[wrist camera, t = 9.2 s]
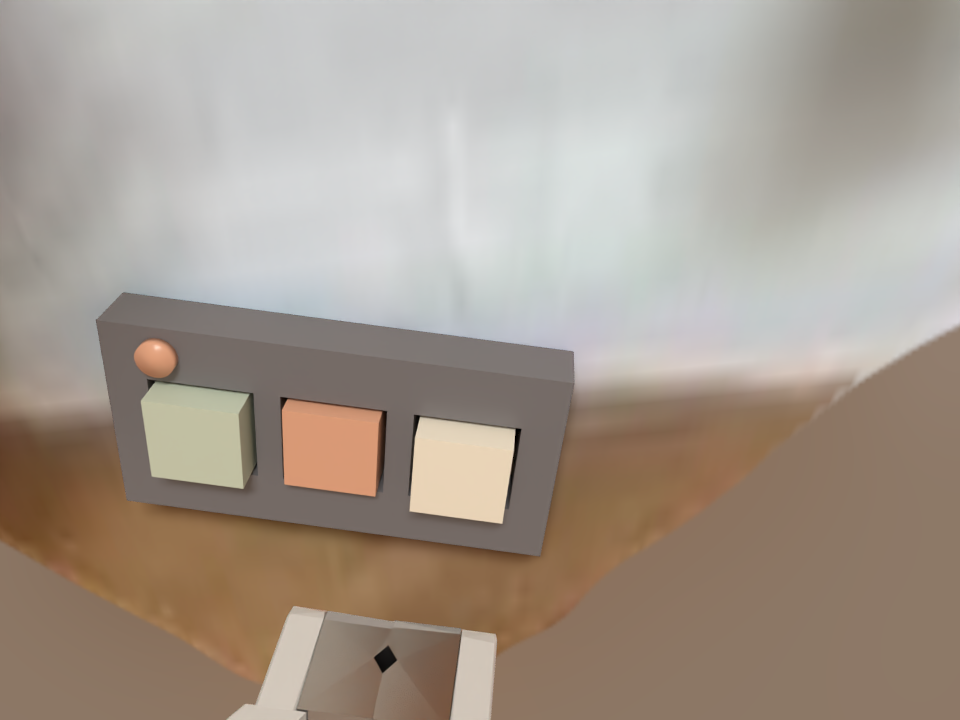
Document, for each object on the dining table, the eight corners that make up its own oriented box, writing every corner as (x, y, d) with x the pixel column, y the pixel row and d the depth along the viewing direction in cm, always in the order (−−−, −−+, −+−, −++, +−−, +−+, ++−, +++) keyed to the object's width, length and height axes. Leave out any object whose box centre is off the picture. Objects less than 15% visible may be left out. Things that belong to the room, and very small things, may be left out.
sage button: (174, 442, 46) (151, 476, 44) (165, 369, 44) (140, 400, 41) (260, 454, 46) (243, 488, 44) (257, 381, 44) (238, 413, 41)
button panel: (149, 467, 50) (122, 507, 47) (123, 292, 43) (90, 326, 40) (541, 519, 49) (539, 563, 46) (573, 351, 43) (574, 389, 40)
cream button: (417, 475, 46) (409, 511, 44) (423, 403, 44) (414, 437, 41) (505, 486, 46) (502, 523, 44) (516, 415, 44) (513, 450, 41)
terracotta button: (299, 450, 47) (284, 484, 44) (297, 378, 44) (282, 410, 42) (385, 461, 47) (375, 496, 44) (388, 390, 44) (378, 423, 42)
